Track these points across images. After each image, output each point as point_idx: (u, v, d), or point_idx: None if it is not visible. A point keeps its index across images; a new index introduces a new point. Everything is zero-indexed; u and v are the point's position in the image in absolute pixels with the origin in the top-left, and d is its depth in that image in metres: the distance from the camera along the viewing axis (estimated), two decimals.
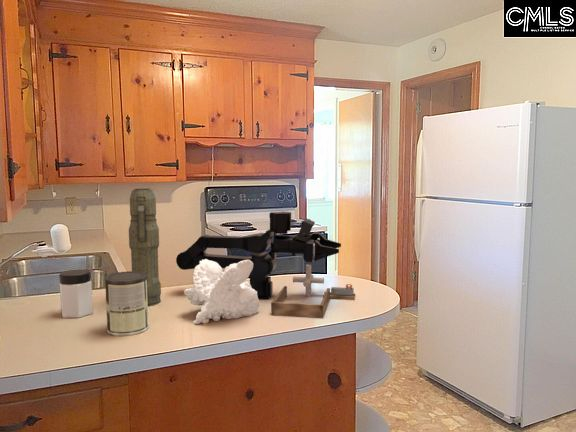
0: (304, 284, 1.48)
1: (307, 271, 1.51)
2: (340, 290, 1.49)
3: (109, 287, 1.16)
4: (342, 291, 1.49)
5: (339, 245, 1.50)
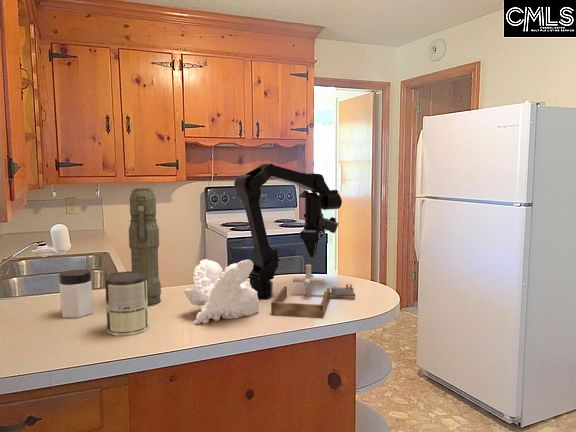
0: (304, 284, 1.48)
1: (307, 271, 1.51)
2: (340, 290, 1.49)
3: (109, 287, 1.16)
4: (342, 291, 1.49)
5: (313, 253, 1.64)
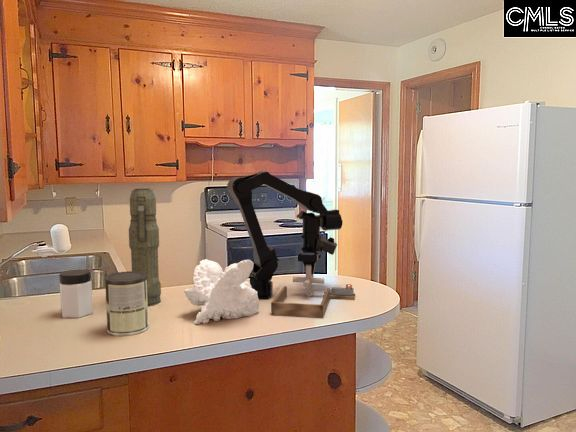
0: (304, 285, 1.48)
1: (307, 271, 1.51)
2: (340, 290, 1.49)
3: (109, 287, 1.16)
4: (342, 291, 1.49)
5: None
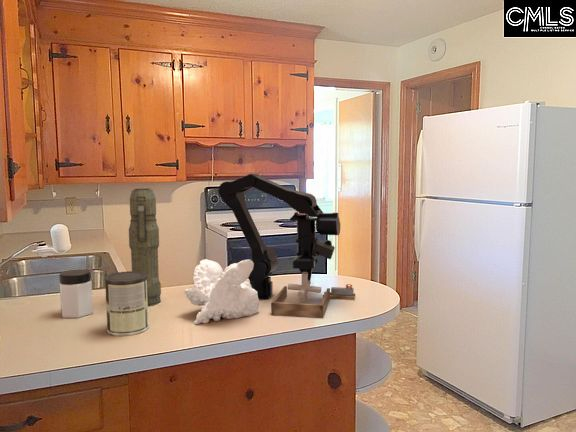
0: (299, 294, 1.37)
1: (303, 279, 1.41)
2: (340, 290, 1.49)
3: (109, 287, 1.16)
4: (342, 291, 1.49)
5: None
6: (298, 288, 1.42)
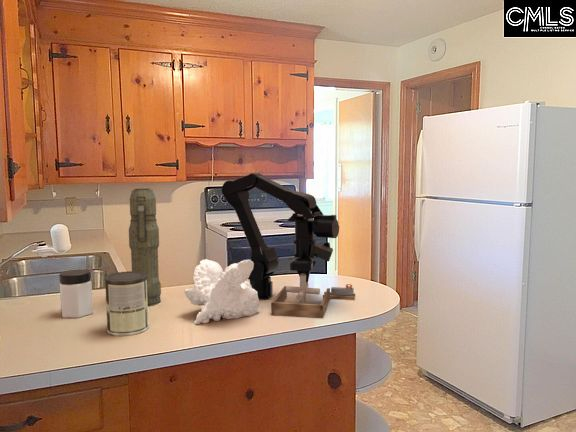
0: (298, 297, 1.35)
1: (301, 281, 1.38)
2: (340, 290, 1.49)
3: (109, 287, 1.16)
4: (342, 291, 1.49)
5: None
6: (296, 290, 1.39)
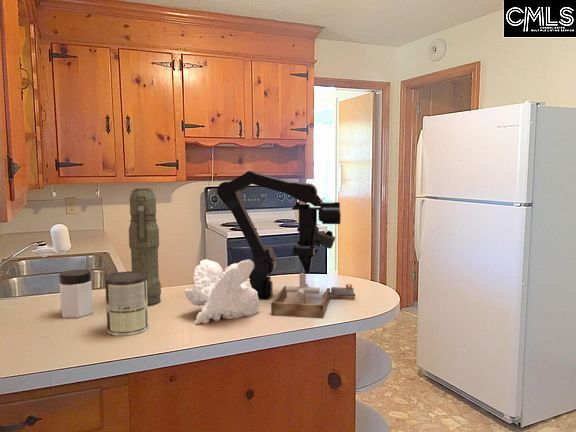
0: (298, 295, 1.36)
1: (301, 280, 1.39)
2: (340, 290, 1.49)
3: (109, 287, 1.16)
4: (342, 291, 1.49)
5: None
6: (296, 290, 1.40)
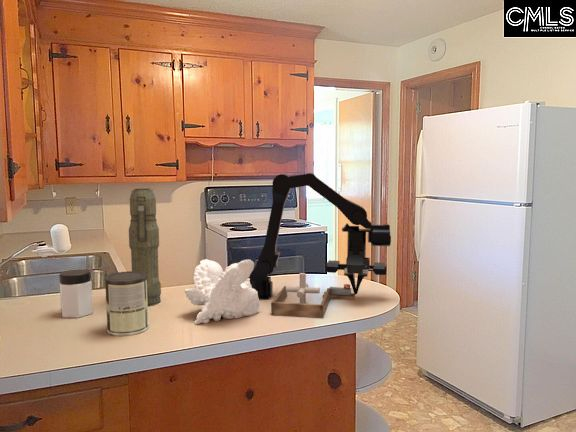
0: (298, 295, 1.36)
1: (301, 280, 1.39)
2: (338, 290, 1.49)
3: (109, 287, 1.16)
4: (340, 291, 1.49)
5: None
6: (296, 290, 1.40)
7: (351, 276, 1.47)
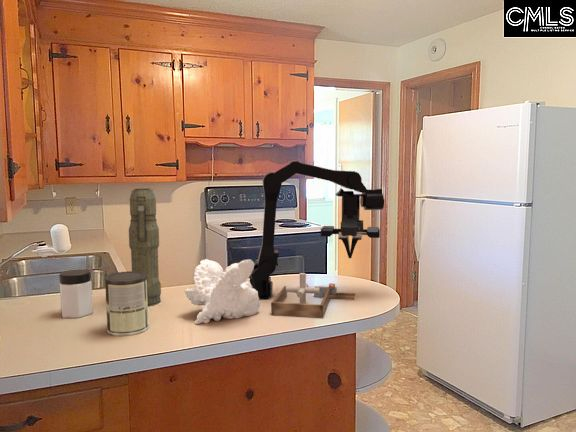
0: (298, 295, 1.36)
1: (301, 280, 1.39)
2: (323, 289, 1.50)
3: (109, 287, 1.16)
4: (325, 290, 1.50)
5: None
6: (296, 290, 1.40)
7: (345, 240, 1.50)
